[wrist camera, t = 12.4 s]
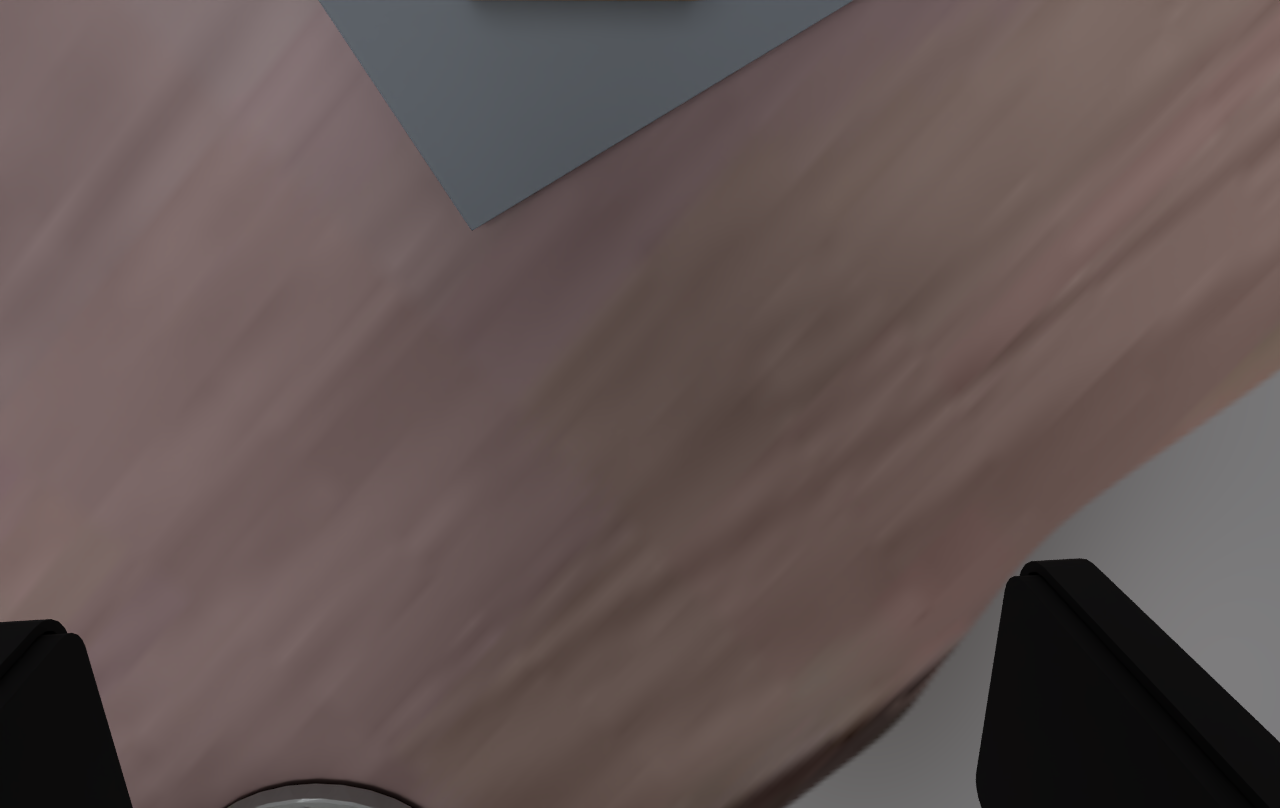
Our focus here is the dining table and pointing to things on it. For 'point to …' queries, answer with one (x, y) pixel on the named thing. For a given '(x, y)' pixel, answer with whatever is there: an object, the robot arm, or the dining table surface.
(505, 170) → the slate board
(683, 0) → the tan slatted rectangular block
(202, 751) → the dining table surface
